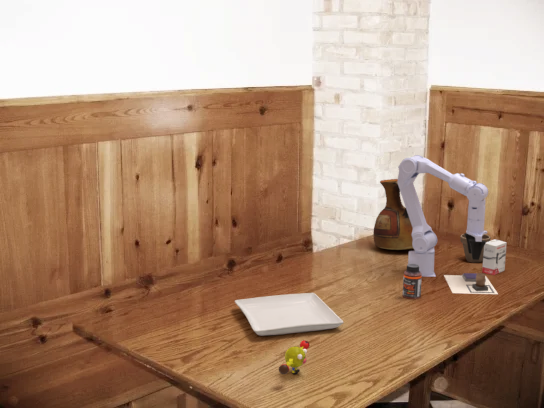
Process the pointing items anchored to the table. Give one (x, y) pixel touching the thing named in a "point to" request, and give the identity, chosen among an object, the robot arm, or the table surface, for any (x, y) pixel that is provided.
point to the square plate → (288, 314)
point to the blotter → (466, 285)
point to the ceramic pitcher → (393, 221)
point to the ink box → (494, 257)
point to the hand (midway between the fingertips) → (473, 256)
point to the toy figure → (295, 358)
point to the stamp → (480, 283)
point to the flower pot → (469, 255)
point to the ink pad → (470, 277)
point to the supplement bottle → (412, 282)
